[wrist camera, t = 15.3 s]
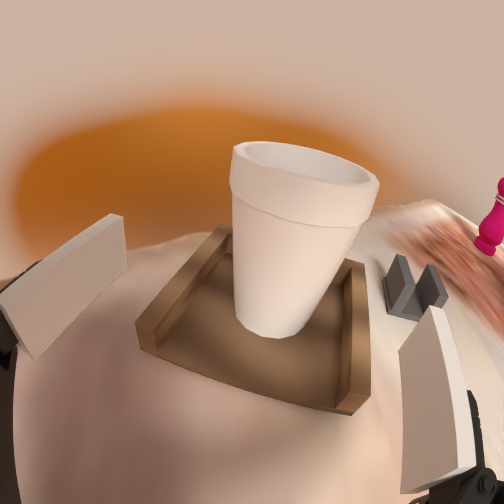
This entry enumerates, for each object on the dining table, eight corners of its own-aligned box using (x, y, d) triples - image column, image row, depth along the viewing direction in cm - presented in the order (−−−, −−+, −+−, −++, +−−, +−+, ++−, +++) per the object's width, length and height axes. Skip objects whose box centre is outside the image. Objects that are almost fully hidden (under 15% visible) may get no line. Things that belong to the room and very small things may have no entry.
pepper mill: (484, 256, 45) (517, 174, 34) (467, 239, 51) (496, 162, 40) (498, 258, 46) (529, 183, 35) (482, 242, 52) (509, 171, 41)
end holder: (218, 247, 32) (220, 223, 30) (354, 285, 29) (364, 263, 28) (140, 348, 19) (134, 322, 17) (351, 415, 16) (370, 396, 15)
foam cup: (206, 343, 20) (221, 164, 13) (223, 270, 27) (241, 136, 21) (330, 358, 20) (403, 202, 13) (317, 284, 28) (356, 159, 21)
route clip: (382, 280, 31) (395, 253, 29) (422, 292, 30) (436, 267, 28) (387, 313, 26) (404, 283, 24) (432, 325, 25) (449, 297, 23)
